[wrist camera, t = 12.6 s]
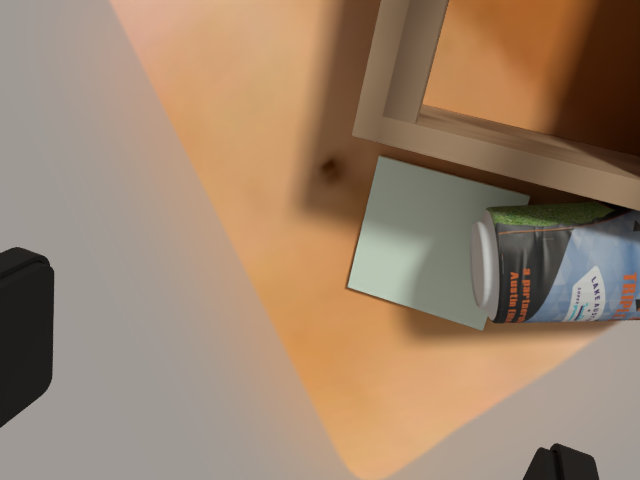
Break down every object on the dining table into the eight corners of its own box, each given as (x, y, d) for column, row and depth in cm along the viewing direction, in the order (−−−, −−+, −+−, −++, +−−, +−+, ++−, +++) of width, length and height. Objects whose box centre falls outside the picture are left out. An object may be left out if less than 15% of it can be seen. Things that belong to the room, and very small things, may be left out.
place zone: (348, 284, 37) (347, 286, 37) (380, 155, 34) (378, 156, 33) (482, 327, 35) (482, 330, 35) (530, 195, 32) (530, 196, 31)
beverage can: (470, 266, 25) (783, 283, 22) (473, 166, 30) (729, 169, 27) (465, 346, 29) (726, 370, 26) (469, 247, 34) (688, 258, 31)
